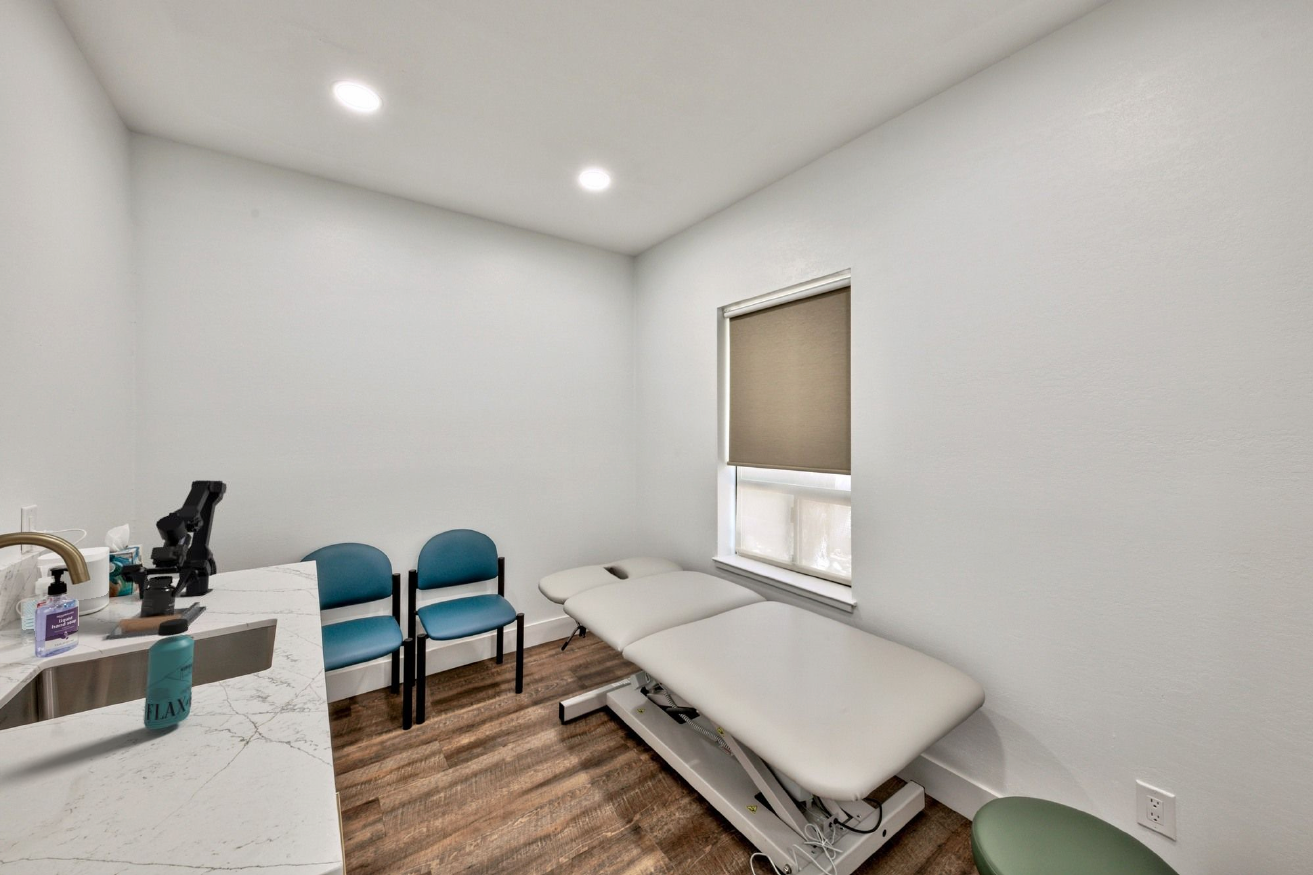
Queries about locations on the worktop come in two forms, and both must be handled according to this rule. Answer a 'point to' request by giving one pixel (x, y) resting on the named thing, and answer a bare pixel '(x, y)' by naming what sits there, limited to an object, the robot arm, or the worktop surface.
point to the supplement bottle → (158, 597)
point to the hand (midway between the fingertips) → (157, 597)
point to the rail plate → (153, 622)
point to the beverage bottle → (169, 676)
